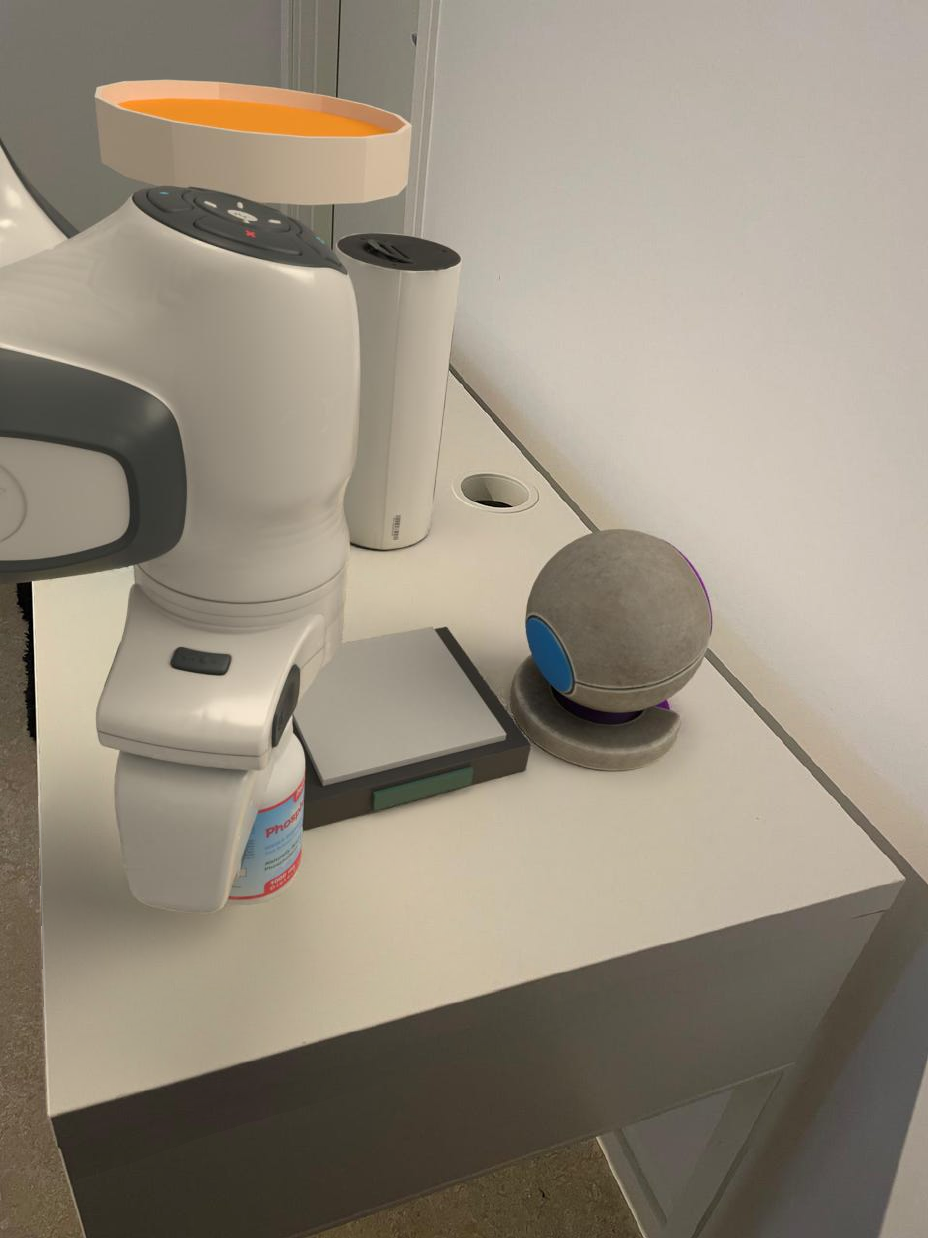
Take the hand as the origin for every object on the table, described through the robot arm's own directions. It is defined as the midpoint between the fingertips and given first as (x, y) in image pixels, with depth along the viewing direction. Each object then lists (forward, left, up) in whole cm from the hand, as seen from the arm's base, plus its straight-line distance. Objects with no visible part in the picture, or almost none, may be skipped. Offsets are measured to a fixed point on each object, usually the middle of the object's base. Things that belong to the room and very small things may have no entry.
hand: (244, 814), depth 47 cm
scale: (+13, +11, -8) cm, 18 cm away
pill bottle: (0, 0, -4) cm, 4 cm away
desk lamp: (+19, +65, -8) cm, 68 cm away
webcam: (+29, +8, -8) cm, 31 cm away
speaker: (+23, +38, -8) cm, 45 cm away
